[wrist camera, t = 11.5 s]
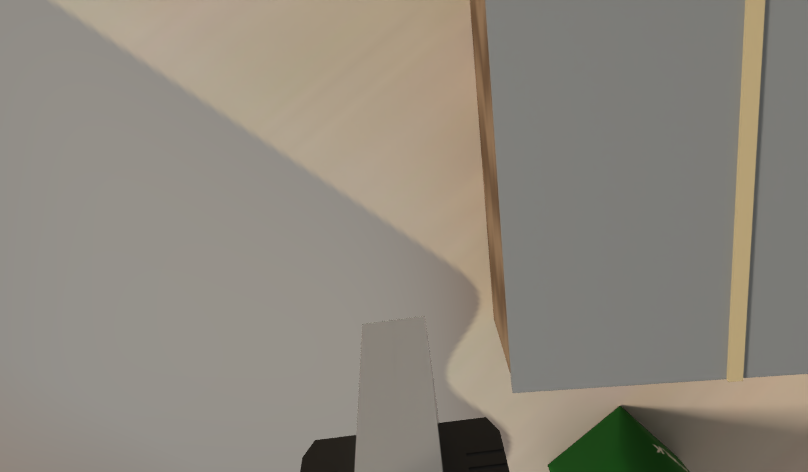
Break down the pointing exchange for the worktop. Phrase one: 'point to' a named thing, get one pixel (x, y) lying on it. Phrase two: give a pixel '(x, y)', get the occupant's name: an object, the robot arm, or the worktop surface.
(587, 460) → the milk carton
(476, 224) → the worktop surface
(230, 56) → the worktop surface
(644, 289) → the lid
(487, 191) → the walnut box
